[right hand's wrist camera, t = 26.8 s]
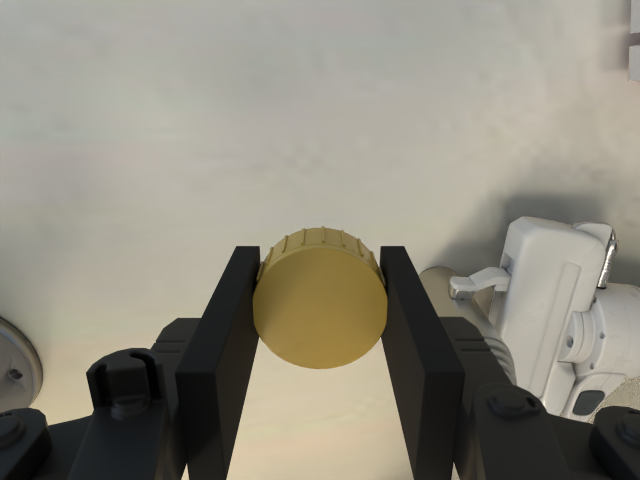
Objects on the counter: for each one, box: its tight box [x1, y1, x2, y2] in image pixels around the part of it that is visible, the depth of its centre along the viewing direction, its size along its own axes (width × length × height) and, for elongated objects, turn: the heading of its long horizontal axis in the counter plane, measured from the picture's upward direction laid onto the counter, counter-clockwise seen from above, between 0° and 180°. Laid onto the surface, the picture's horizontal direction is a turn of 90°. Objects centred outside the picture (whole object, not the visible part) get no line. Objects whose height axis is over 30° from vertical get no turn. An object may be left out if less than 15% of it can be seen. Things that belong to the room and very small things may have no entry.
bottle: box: [419, 267, 517, 386], centre depth 38 cm, size 5×5×19 cm
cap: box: [253, 226, 388, 369], centre depth 14 cm, size 4×4×2 cm
